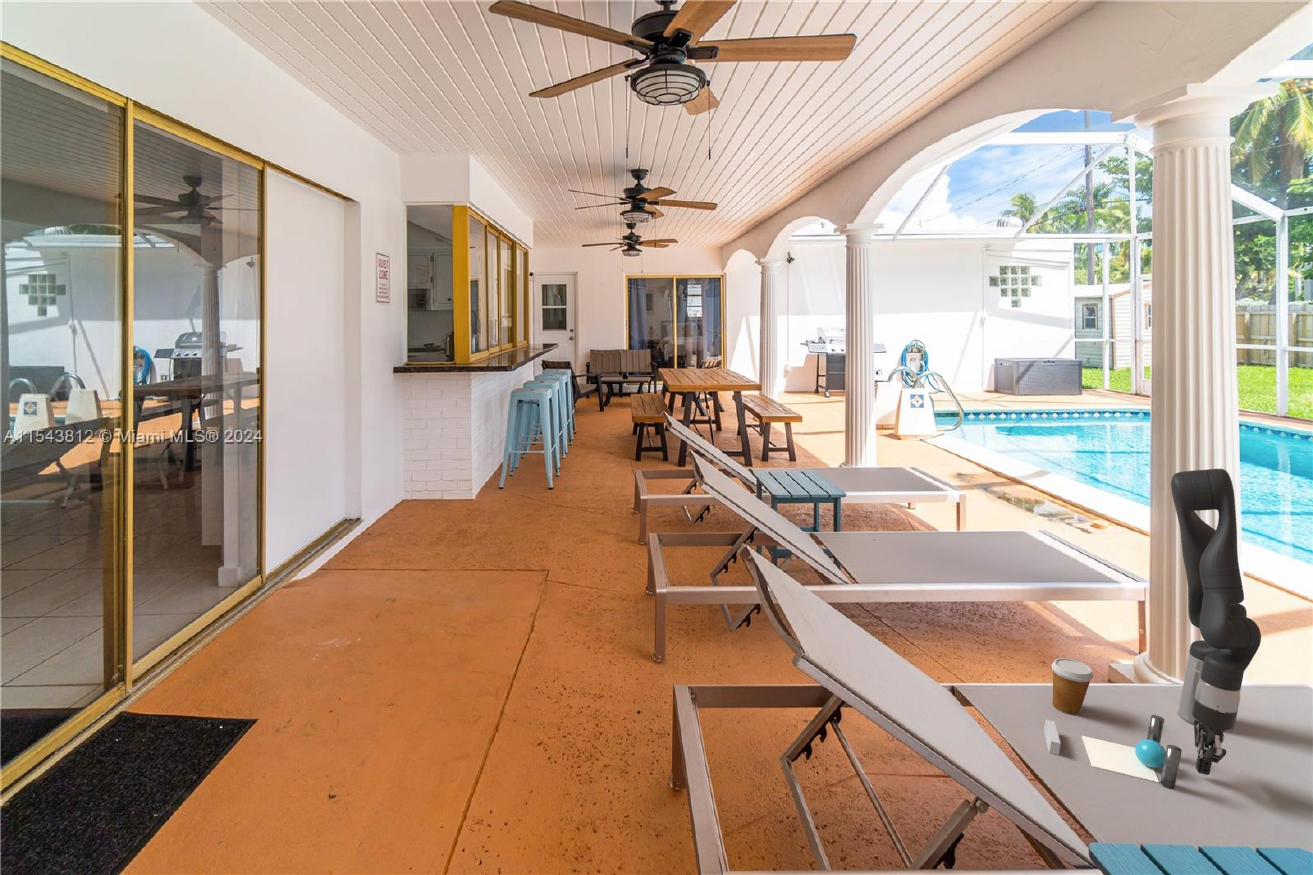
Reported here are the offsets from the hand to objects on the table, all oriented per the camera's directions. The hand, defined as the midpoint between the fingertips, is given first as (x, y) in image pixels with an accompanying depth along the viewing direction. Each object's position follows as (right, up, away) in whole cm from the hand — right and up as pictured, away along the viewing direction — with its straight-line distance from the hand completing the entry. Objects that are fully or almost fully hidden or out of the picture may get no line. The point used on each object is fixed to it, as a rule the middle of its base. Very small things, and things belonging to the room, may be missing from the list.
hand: (1202, 772), depth 156 cm
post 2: (-10, -2, -3) cm, 10 cm away
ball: (-9, +3, +4) cm, 10 cm away
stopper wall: (-28, +2, +11) cm, 30 cm away
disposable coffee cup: (-15, +4, +27) cm, 31 cm away
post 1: (-5, 0, +9) cm, 10 cm away
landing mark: (-15, 0, +6) cm, 16 cm away
